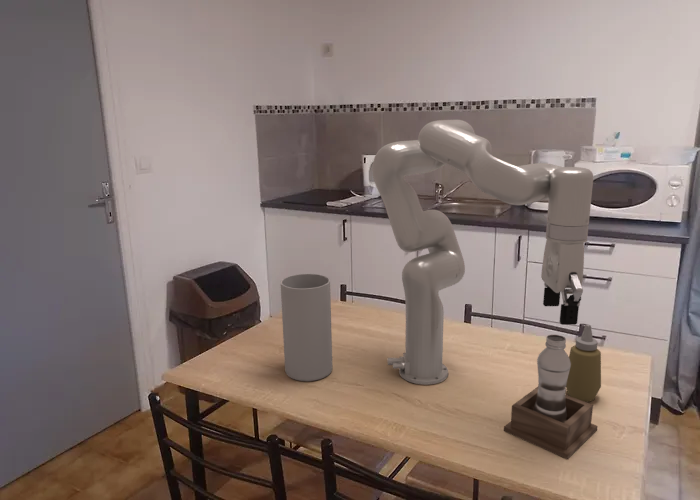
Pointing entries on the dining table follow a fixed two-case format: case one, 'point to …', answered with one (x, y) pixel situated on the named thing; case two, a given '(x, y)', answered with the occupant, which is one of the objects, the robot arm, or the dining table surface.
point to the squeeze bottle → (584, 368)
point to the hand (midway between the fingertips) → (559, 314)
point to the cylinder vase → (307, 326)
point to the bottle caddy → (552, 425)
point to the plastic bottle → (553, 378)
